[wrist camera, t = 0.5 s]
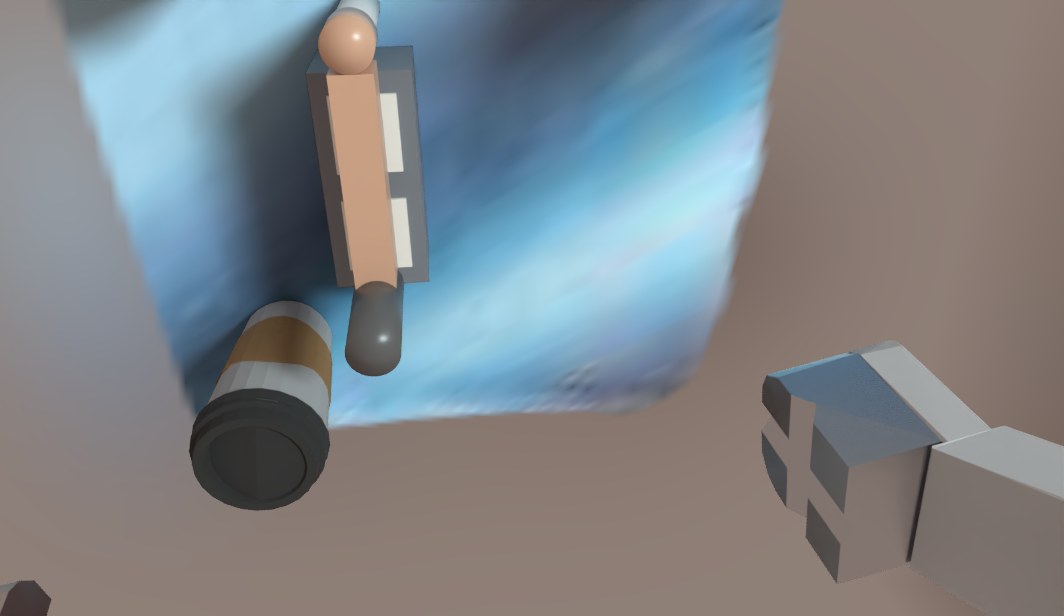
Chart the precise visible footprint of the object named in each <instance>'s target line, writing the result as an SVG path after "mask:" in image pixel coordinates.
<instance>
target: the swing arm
mask: <svg viewBox="0 0 1064 616" xmlns="http://www.w3.org/2000/svg"><path fill="white" fill-rule="evenodd" d="M376 44H377V29H376V26H375V24H374V22H373V20H372V19H371V18H370V16H369V15H368V14H366V13H365V12H364V11H362V10H360V9H357V8H354V7H344V8H340V9H338V10H336V11H334V12H333V13H332V14H331V15H330V16H329V18H328V19H327V21H326V23H325V25H324V27H323V29H322V31H321V33H320V36H319V40H318V49H319V53H320V56H321V58H322V60H323V61H324V63H325V64H326V65H327V66H328V67H329V70H328V73H327V75H326V77H327V85H328V92H329V99H330V107H331V114H332V121H333V129H334V136H335V143H336V150H337V158H338V165H339V172H340V180H341V187H342V194H343V201H344V209H345V216H346V223H347V231H348V238H349V245H350V253H351V260H352V267H353V274H354V282H355V286H354V293H353V299H352V306H351V313H350V320H349V327H348V333H347V340H346V347H345V357H346V360H347V362H348V364H349V365H350V367H351V368H352V369H354V370H355V371H356V372H358V373H360V374H363V375H366V376H381V375H384V374H387V373H389V372H391V371H392V370H393V369H394V368H395V367H396V366H397V365H398V363H399V361H400V358H401V344H402V318H403V293H404V280H403V276H402V274H401V273H400V271H399V270H398V262H397V253H396V243H395V233H394V224H393V214H392V205H391V195H390V186H389V176H388V167H387V157H386V147H385V138H384V128H383V119H382V109H381V100H380V90H379V80H378V71H377V61H376V60H373V57H374V53H375V48H376Z"/></svg>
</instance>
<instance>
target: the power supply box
mask: <svg viewBox="0 0 1064 616" xmlns="http://www.w3.org/2000/svg"><path fill="white" fill-rule="evenodd" d="M344 7H354V8H357V9H360V10H362V11H364V12H365V13H366V14H368V15H369V16H370V18H371V19H372V20H373V22H374V24H375V26H377V22H378V17H379V13H380V2H379V0H341V1H340V3H339V5H338V7H337V9H336V10H338V9H340V8H344ZM373 60H376V61H377V71H378V80H379V90H380V100H381V109H382V119H383V128H384V138H385V147H386V157H387V167H388V176H389V186H390V195H391V205H392V214H393V224H394V233H395V243H396V253H397V262H398V270H399V271H400V273H401V274H402V276H403V280H404V283H416V282H429V244H428V230H427V218H426V206H425V193H424V181H423V169H422V156H421V144H420V132H419V120H418V107H417V95H416V83H415V70H414V58H413V46H394V47H376V48H375V53H374V57H373ZM328 70H329V67H328V66H327V65H326V64H325V63H324V61H323V60H322V58H321V56H320V53H319V49H317V51H316V53H315V55H314V57H313V59H312V61H311V64H310V66H309V68H308V70H307V72H306V79H307V86H308V94H309V101H310V108H311V114H312V121H313V128H314V134H315V141H316V148H317V154H318V161H319V168H320V174H321V181H322V188H323V194H324V201H325V208H326V214H327V221H328V228H329V234H330V241H331V248H332V254H333V259H334V266H335V273H336V279H337V286H338V287H353V286H355V282H354V274H353V267H352V260H351V253H350V245H349V238H348V231H347V223H346V216H345V209H344V201H343V194H342V187H341V180H340V172H339V165H338V158H337V150H336V143H335V136H334V129H333V121H332V114H331V107H330V99H329V92H328V85H327V77H326V75H327V73H328Z"/></svg>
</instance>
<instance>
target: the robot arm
mask: <svg viewBox="0 0 1064 616" xmlns="http://www.w3.org/2000/svg"><path fill="white" fill-rule="evenodd" d="M762 403H763V404H764V406H765V407H766V408H767V410H768V411H769V413H770V414H771V415H772V416H771V418H770V419H769V421H768V422H767V424H766V425H765V426H764V428H763V429H762V454H763V457H764V461H765V465H766V469H767V473H768V475H769V478H770V480H771V482H772V484H773V486H774V488H775V490H776V492H777V494H778V495H779V497H780V498H781V500H782V502H783V503H784V505H785V506H786V508H789V509H791V510H793V511H795V512H797V513H799V514H801V515H803V516H805V517H807V522H806V538H807V540H808V541H809V543H810V544H811V546H812V547H813V549H814V550H815V552H816V553H817V555H818V556H819V558H820V559H821V561H822V562H823V564H824V565H825V567H826V568H827V570H828V571H829V573H830V574H831V576H832V577H833V579H834V580H835V582H836V583H837V584H839V583H842V582H846V581H850V580H853V579H857V578H861V577H864V576H868V575H871V574H875V573H878V572H882V571H886V570H890V569H893V568H897V567H900V566H904V565H908V564H910V569H912V570H913V571H915V572H917V573H918V574H920V575H922V576H924V577H925V578H927V579H928V580H930V581H931V582H933V583H935V584H936V585H938V586H940V587H942V588H943V589H945V590H946V591H948V592H950V593H951V594H953V595H954V596H956V597H958V598H959V599H961V600H963V601H964V602H966V603H968V604H969V605H971V606H973V607H974V608H976V609H978V610H979V611H981V612H982V613H984V614H986V615H987V616H1064V447H1063V446H1061V445H1058V444H1055V443H1052V442H1049V441H1046V440H1043V439H1041V438H1038V437H1034V436H1032V435H1029V434H1026V433H1024V432H1021V431H1018V430H1015V429H1012V428H1009V427H1007V426H1001V427H997V428H993V429H991V428H990V427H989V426H988V425H987V424H985V423H984V422H983V421H982V420H981V419H980V418H979V417H978V416H977V415H976V414H975V413H974V412H973V411H971V410H970V409H969V408H968V407H967V406H966V405H965V404H964V403H963V402H962V401H961V400H960V399H959V398H958V397H957V396H956V395H955V394H953V393H952V392H951V391H950V390H949V389H948V388H947V387H946V386H945V385H944V384H943V383H942V382H940V380H939V379H937V378H936V377H935V376H934V375H933V374H932V373H931V372H930V371H929V370H928V369H927V368H926V367H925V366H924V365H923V364H921V363H920V362H919V361H918V360H917V359H916V358H915V357H914V356H913V355H912V354H911V353H910V352H909V351H907V350H906V349H905V348H904V347H903V346H902V345H901V344H899V343H897V342H894V341H891V340H887V341H884V342H880V343H877V344H874V345H870V346H867V347H863V348H860V349H856V350H853V351H849V352H848V353H845V354H840V355H836V356H833V357H829V358H826V359H822V360H819V361H815V362H812V363H808V364H805V365H801V366H798V367H794V368H790V369H787V370H784V371H780V372H776V373H773V374H770V375H767V376H766V378H765V381H764V383H763V387H762ZM50 603H51V598H50V597H49V596H48V595H47V594H46V593H45V592H44V591H43V589H42V588H41V587H40V586H39V585H38V584H37V583H36V582H35V581H34V580H32V581H17V582H13V583H9V584H5V585H1V586H0V616H47V613H48V610H49V606H50Z"/></svg>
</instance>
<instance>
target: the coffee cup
mask: <svg viewBox="0 0 1064 616" xmlns="http://www.w3.org/2000/svg"><path fill="white" fill-rule="evenodd" d="M331 356H332V334H331V330H330V328H329V326H328V323H327V322H326V321H325V319H324V318H323V317H322V316H321V315H320V314H319V313H318V312H317V311H316V310H314V309H313V308H312V307H310V306H308V305H305V304H303V303H301V302H295V301H278V302H274V303H271V304H268V305H265V306H264V307H262V308H260V309H258V310H257V311H256V312H255V313H254V314H253V315H252V316H251V317H250V319H249V321H248V323H247V325H246V327H245V329H244V331H243V333H242V335H241V336H240V337H239V339H238V341H237V343H236V345H235V347H234V349H233V351H232V353H231V355H230V357H229V359H228V361H227V363H226V365H225V367H224V369H223V371H222V373H221V375H220V377H219V379H218V381H217V383H216V387H215V390H214V392H213V394H212V396H211V398H210V400H209V402H208V404H207V406H206V407H205V408H204V409H203V410H202V411H201V412H200V413H199V414H198V416H197V418H196V420H195V422H194V424H193V431H192V435H191V440H190V449H189V453H190V457H191V460H192V466H193V470H194V474H195V476H196V478H197V480H198V481H199V483H200V485H201V486H202V487H203V488H204V489H205V490H206V491H207V492H208V493H209V494H210V495H212V496H213V497H214V498H216V499H218V500H220V501H222V502H223V503H225V504H228V505H231V506H234V507H237V508H241V509H248V510H269V509H270V510H271V509H276V508H279V507H283V506H286V505H288V504H290V503H292V502H294V501H296V500H298V499H300V498H301V497H302V496H303V495H304V494H305V493H306V492H307V491H309V489H310V487H311V486H312V484H314V482H316V481H317V479H318V477H319V476H320V474H321V473H322V471H323V469H324V465H325V461H326V459H327V456H328V452H329V447H330V441H329V433H328V413H329V406H330V402H331V381H332V358H331Z"/></svg>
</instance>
